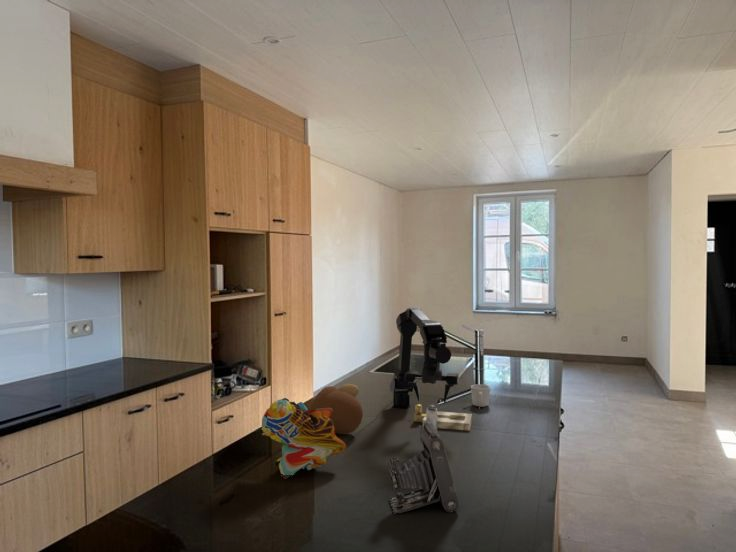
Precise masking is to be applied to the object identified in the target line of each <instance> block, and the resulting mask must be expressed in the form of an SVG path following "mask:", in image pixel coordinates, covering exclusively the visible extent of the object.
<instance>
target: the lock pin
mask: <svg viewBox="0 0 736 552" xmlns="http://www.w3.org/2000/svg"><path fill="white" fill-rule="evenodd" d="M414 408H415V409H414V412H415V413H414V416H413V417H414V419H413V420H414V421H413V422H415V423H423V418H424V417H426V413H423V405H422V404H421V403H417V404H416V403H415V404H414Z"/></svg>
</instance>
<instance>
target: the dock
mask: <svg viewBox="0 0 736 552" xmlns="http://www.w3.org/2000/svg"><path fill="white" fill-rule="evenodd" d="M424 423H426V417H424V418H423V422H422V427H423V426H424ZM472 423H473V413H464V412H452V411H451V412H449V411H438V410H437V428H438V429H444V430H445V429H446V430H457V431H458V430H459V431H470V430H471V427H472Z"/></svg>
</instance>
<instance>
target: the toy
mask: <svg viewBox="0 0 736 552" xmlns="http://www.w3.org/2000/svg"><path fill="white" fill-rule="evenodd" d="M359 392H360V390H359V387H358V386H357V385H356V384H352V383H345V384H342V385H341V386H340V387H339V388H338V387H335V386H331V385H330V386H325V387H324V388H322V389H321V390H319V392H318V393H317V394H316V396H314V399H313V400H312V401H311V403H310V404H309V406H308V408H307V409H308V410H313V409H320V408H332V409H333V412H332V414H331V416H330V419H331V420H332V422H333V426H334V429H335V435H336V434H337V435H348V434H351V433H353V432H355V431H356V430H357V429H358V428H359V427H360V425H361V423H362V421H363V416H364V410H363V406H362V404H361V402H360V401H359V400H358V399H357V398H356V397H357V396H358V395H359Z"/></svg>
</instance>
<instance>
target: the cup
mask: <svg viewBox="0 0 736 552" xmlns="http://www.w3.org/2000/svg"><path fill="white" fill-rule="evenodd" d="M470 393H471V403H472V404H473V406H476V407H478V406H479V407H480V408H481V407H482V408H485V407H488V405H489V402H490V396H491V395H490V393H491V387H490V386H489V385H487V384H480V383H478V384H476V383H475V384H472V385H471V386H470Z"/></svg>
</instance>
